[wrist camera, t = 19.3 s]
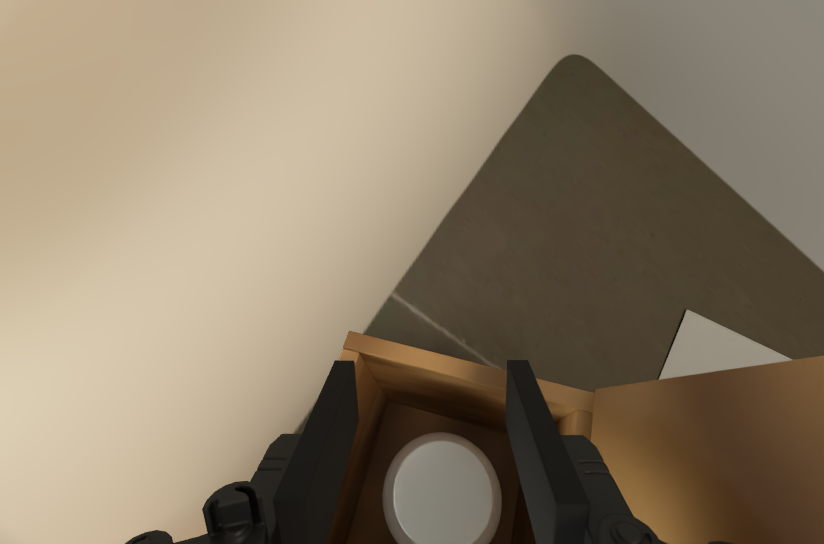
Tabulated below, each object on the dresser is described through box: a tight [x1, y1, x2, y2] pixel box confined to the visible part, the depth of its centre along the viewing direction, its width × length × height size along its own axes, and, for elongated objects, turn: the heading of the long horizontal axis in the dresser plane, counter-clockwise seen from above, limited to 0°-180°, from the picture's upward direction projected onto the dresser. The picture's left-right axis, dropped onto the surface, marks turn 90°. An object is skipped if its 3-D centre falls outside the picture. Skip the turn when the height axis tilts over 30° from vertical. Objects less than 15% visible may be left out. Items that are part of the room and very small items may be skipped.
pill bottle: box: [382, 432, 502, 544], centre depth 20 cm, size 5×5×10 cm
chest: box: [326, 331, 595, 544], centre depth 20 cm, size 11×11×12 cm
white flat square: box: [659, 309, 792, 380], centre depth 27 cm, size 8×8×2 cm
